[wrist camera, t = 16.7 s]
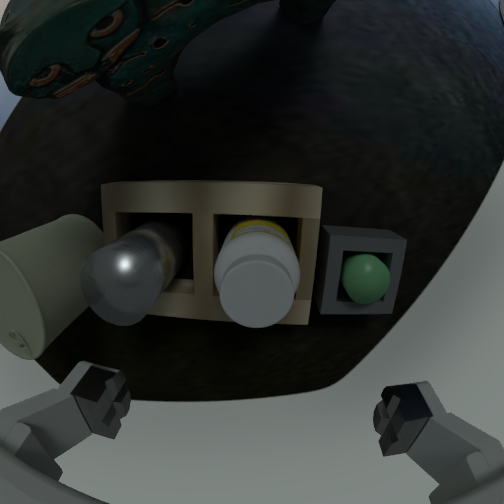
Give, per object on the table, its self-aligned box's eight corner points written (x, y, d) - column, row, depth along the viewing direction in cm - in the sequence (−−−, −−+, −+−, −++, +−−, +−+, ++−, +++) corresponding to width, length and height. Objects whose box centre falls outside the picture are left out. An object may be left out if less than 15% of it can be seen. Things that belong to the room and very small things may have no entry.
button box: (389, 230, 24) (406, 240, 20) (378, 296, 26) (391, 313, 22) (321, 225, 24) (330, 235, 20) (313, 295, 26) (320, 313, 22)
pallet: (315, 185, 23) (322, 187, 20) (303, 307, 26) (307, 324, 23) (117, 181, 23) (101, 184, 20) (126, 295, 26) (113, 309, 24)
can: (72, 309, 27) (8, 369, 16) (35, 236, 25) (-43, 273, 14) (130, 284, 26) (62, 355, 15) (89, 197, 24) (-4, 225, 12)
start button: (379, 249, 23) (393, 260, 20) (372, 288, 24) (385, 304, 21) (339, 246, 23) (350, 258, 20) (334, 288, 24) (342, 303, 21)
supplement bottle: (258, 287, 26) (256, 354, 16) (213, 246, 25) (184, 296, 15) (303, 245, 24) (327, 295, 15) (257, 200, 23) (253, 224, 14)
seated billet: (191, 217, 24) (146, 251, 14) (192, 270, 25) (154, 330, 16) (139, 216, 24) (74, 247, 15) (142, 267, 26) (87, 320, 16)
